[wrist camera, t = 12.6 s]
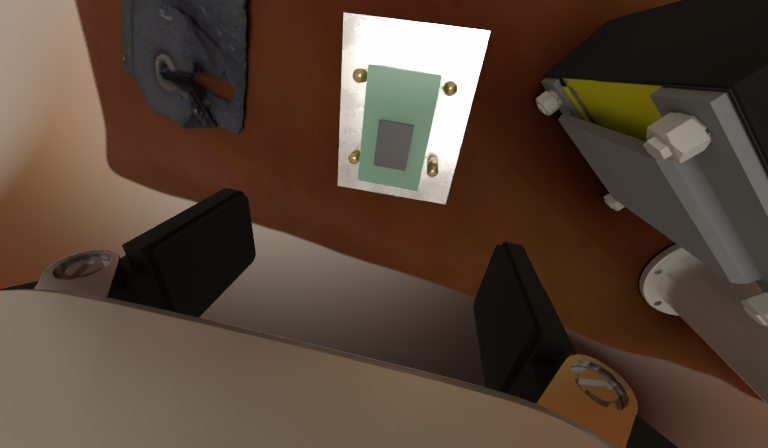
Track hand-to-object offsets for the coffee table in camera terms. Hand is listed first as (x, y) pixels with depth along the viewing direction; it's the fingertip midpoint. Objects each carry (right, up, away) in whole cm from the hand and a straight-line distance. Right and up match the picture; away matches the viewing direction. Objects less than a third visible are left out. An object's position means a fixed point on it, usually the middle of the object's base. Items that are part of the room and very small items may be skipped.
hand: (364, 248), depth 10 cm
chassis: (+3, +13, +21) cm, 25 cm away
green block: (+3, +12, +20) cm, 24 cm away
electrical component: (+25, +12, +18) cm, 33 cm away
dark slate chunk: (-20, +23, +20) cm, 37 cm away
